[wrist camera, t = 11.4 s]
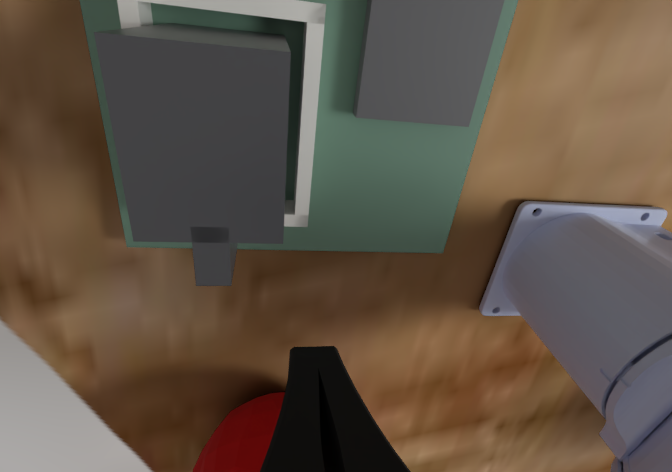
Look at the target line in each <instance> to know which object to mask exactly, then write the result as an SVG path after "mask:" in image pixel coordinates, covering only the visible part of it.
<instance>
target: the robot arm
mask: <svg viewBox="0 0 672 472" xmlns="http://www.w3.org/2000/svg"><path fill="white" fill-rule="evenodd" d="M535 209H537V210H536V212H534V213H533V211H534V210H535ZM666 216H667V211H666V210H664V209H663V208H660V207H646V206H624V205H603V204H582V203H561V202H539V201H525V202H523V203H521V204H520V205H519V207H518V208H517V211H516V213H515V216H514V218H513V221H512V224H511V226H510V229H509V231H508V234H507V237H506V239H505V242H504V244H503V247H502V249H501V252H500V255H499V257H498V260H497V262H496V265H495V268H494V270H493V273H492V275H491V278H490V281H489V283H488V286H487V288H486V291H485V293H484V296H483V299H482V301H481V304H480V306H479V310H480V312H481V314H482V315H484V316H520V315H521V316H522V317H523V318H524V319H525V321H526V322H527V323H528V324H529V326H530V327H531V328H532V329H533V331H534V332H535V333H536V334H537V336H538V337H539V338H540V339H541V340H542V342H543V343H544V344H545V345H546V347H547V348H548V349H549V350H550V352H551V353H552V354H553V355H554V357H555V358H556V359H557V360H558V361H559V363H560V364H561V365H562V366H563V368H564V369H565V370H566V371H567V373H568V374H569V375H570V376H571V378H572V379H573V380H574V381H575V382H576V384H577V385H578V386H579V387H580V389H581V390H582V391H583V392H584V394H585V395H586V396H587V397H588V399H589V400H590V401H591V402H592V404H593V405H594V406H595V407H596V408H597V410H598V411H599V412H600V413H601V415H602V416H603V417H604V418H605V419H606V423H605V425H604V427H603V429H602V430H601V431H600V433H599V435H600V436H601V438H602V439H603V440H604V442H605V443H606V444H607V445H608V447H609V448H610V449H611V451H612V452H613V453H614V455H615V456H616V457H615V459H614V461H613V463H612V465H611V472H672V233H671V232H670V231H668V230H666V229H664V228H662V227H661V225H662V223H663V222H664V220H665V218H666ZM494 308H495V309H494ZM260 472H410V470H409V469H408V468H407V466H406V465H405V464H404V462H403V461H402V460H401V458H400V457H399V456H398V454H397V453H396V452H395V450H394V449H393V447H392V446H391V445H390V443H389V442H388V440H387V439H386V437H385V436H384V434H383V433H382V431H381V430H380V428H379V427H378V425H377V424H376V422H375V420H374V419H373V417H372V416H371V414H370V412H369V411H368V409H367V407H366V406H365V404H364V402H363V400H362V399H361V397H360V395H359V393H358V392H357V390H356V388H355V386H354V384H353V382H352V380H351V378H350V376H349V375H348V373H347V370H346V368H345V366H344V364H343V362H342V360H341V357H340V355H339V353H338V350H337V348H335V347H334V346H321V347H294V348H292V349H291V350H290V358H289V372H288V381H287V386H286V391H285V394H284V398H283V402H282V406H281V410H280V414H279V417H278V420H277V424H276V427H275V430H274V433H273V436H272V439H271V442H270V445H269V448H268V451H267V454H266V456H265V459H264V462H263V464H262V467H261V469H260Z"/></svg>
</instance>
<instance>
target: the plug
mask: <svg viewBox="0 0 672 472" xmlns="http://www.w3.org/2000/svg"><path fill="white" fill-rule="evenodd" d="M94 36H95V41H96V46H97V52H98V57H99V62H100V68H101V73H102V78H103V83H104V89H105V94H106V99H107V104H108V110H109V115H110V120H111V126H112V131H113V136H114V141H115V147H116V152H117V157H118V163H119V168H120V173H121V178H122V184H123V189H124V194H125V199H126V205H127V210H128V215H129V221H130V226H131V231H132V236H133V242H192V248H193V258H194V268H195V278H196V286H231V284H232V277H233V271H234V265H235V258H236V252H237V246H238V243H255V244H283V237H284V212H285V187H286V162H287V136H288V111H289V86H290V61H291V51H290V49H289V46H288V44H287V41H286V38H285V36H284V35H280V34H270V33H261V32H252V31H243V30H234V29H225V28H215V27H206V26H197V25H188V24H179V23H167V24H158V25H150V26H141V27H133V28H124V29H116V30H108V31H99V32H94Z"/></svg>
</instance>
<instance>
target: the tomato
mask: <svg viewBox="0 0 672 472" xmlns="http://www.w3.org/2000/svg"><path fill="white" fill-rule="evenodd" d="M284 394H285V392H279V393H270V394H267V395H263V396H260V397H257V398H255V399H253V400H251V401H249V402H247V403H244V404H243V405H241V406H239V407H237V408H235V409H234V410H232V411H230V412H229V414H228V415H227V416H226V417H225V419H224V420H223V421H222V423H221V424H220V425H219V426H218V428H217V429H216V430H215V432H214V433H213V435H212V436H211V438H210V439H209V441H208V442H207V444H206V445H205V447H204V448H203V450H202V452H201V454H200V456H199V458H198V460H197V463H196V465H195V467H194V469H193V472H260V469H261V467H262V464H263V462H264V459H265V456H266V454H267V451H268V448H269V445H270V442H271V439H272V436H273V433H274V430H275V427H276V424H277V420H278V417H279V414H280V410H281V406H282V402H283V398H284Z"/></svg>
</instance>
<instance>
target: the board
mask: <svg viewBox="0 0 672 472" xmlns="http://www.w3.org/2000/svg"><path fill="white" fill-rule="evenodd" d="M517 3H518V0H80V5H81V10H82V15H83V21H84V26H85V31H86V36H87V41H88V47H89V52H90V57H91V62H92V68H93V73H94V78H95V83H96V88H97V94H98V99H99V104H100V109H101V114H102V120H103V125H104V130H105V135H106V141H107V146H108V151H109V156H110V161H111V167H112V172H113V177H114V182H115V188H116V193H117V198H118V203H119V208H120V214H121V219H122V224H123V229H124V234H125V240H126V245H127V247H150V248H192V242H133V236H132V231H131V226H130V221H129V215H128V210H127V205H126V199H125V194H124V189H123V184H122V178H121V173H120V168H119V163H118V157H117V152H116V147H115V141H114V136H113V131H112V126H111V120H110V115H109V110H108V104H107V99H106V94H105V89H104V83H103V78H102V73H101V68H100V62H99V57H98V52H97V46H96V41H95V36H94V32H99V31H108V30H116V29H124V28H133V27H141V26H150V25H158V24H167V23H179V24H188V25H197V26H206V27H215V28H225V29H234V30H243V31H252V32H261V33H270V34H280V35H284V36H285V38H286V41H287V44H288V46H289V49H290V51H291V61H290V86H289V111H288V136H287V162H286V187H285V212H284V237H283V244H255V243H238V246H237V249H254V250H305V251H357V252H408V253H443V251H444V248H445V245H446V241H447V238H448V235H449V231H450V228H451V224H452V221H453V218H454V214H455V211H456V208H457V204H458V201H459V198H460V194H461V191H462V187H463V184H464V181H465V177H466V174H467V171H468V167H469V164H470V161H471V157H472V154H473V151H474V147H475V144H476V140H477V137H478V134H479V130H480V127H481V124H482V120H483V117H484V114H485V110H486V107H487V104H488V100H489V97H490V93H491V90H492V87H493V83H494V80H495V77H496V73H497V70H498V67H499V63H500V60H501V57H502V53H503V50H504V46H505V43H506V40H507V36H508V33H509V30H510V26H511V23H512V20H513V16H514V13H515V10H516V6H517Z"/></svg>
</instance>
